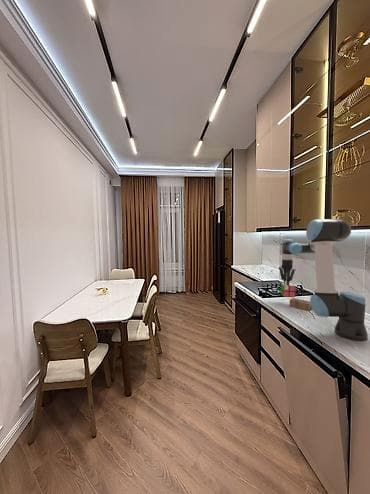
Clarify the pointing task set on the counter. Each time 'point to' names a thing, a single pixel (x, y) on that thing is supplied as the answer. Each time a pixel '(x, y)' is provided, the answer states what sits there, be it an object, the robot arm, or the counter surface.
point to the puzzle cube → (288, 290)
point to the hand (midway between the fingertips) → (286, 289)
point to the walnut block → (300, 304)
